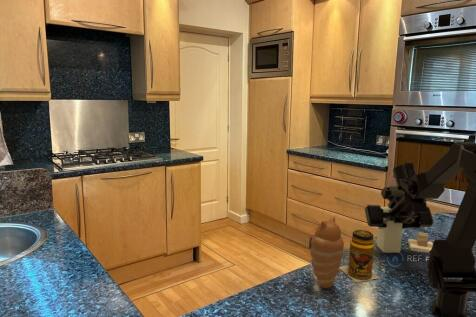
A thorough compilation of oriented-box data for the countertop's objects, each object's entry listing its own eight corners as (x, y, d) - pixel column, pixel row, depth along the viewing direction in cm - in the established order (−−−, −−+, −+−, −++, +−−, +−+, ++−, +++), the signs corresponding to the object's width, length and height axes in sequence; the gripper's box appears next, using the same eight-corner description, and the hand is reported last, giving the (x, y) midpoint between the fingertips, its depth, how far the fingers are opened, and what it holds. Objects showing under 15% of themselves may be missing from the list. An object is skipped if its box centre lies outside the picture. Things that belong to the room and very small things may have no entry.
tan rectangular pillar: (400, 252, 110) (403, 212, 107) (383, 252, 110) (386, 212, 107) (392, 245, 115) (395, 206, 112) (376, 245, 115) (379, 206, 112)
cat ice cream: (321, 275, 95) (325, 211, 92) (347, 287, 90) (353, 219, 86) (301, 286, 90) (304, 218, 86) (327, 300, 84) (332, 228, 81)
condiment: (356, 282, 92) (359, 239, 90) (337, 267, 100) (340, 227, 98) (379, 278, 94) (383, 236, 92) (359, 264, 102) (363, 224, 100)
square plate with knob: (435, 253, 109) (437, 240, 109) (411, 250, 112) (412, 236, 111) (431, 244, 116) (433, 231, 115) (407, 241, 118) (409, 228, 117)
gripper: (433, 180, 104) (411, 204, 117) (369, 179, 104) (354, 203, 117) (445, 215, 98) (420, 237, 111) (377, 214, 98) (360, 236, 111)
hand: (388, 227), depth 112 cm, fingers closed on tan rectangular pillar, 6 cm apart
